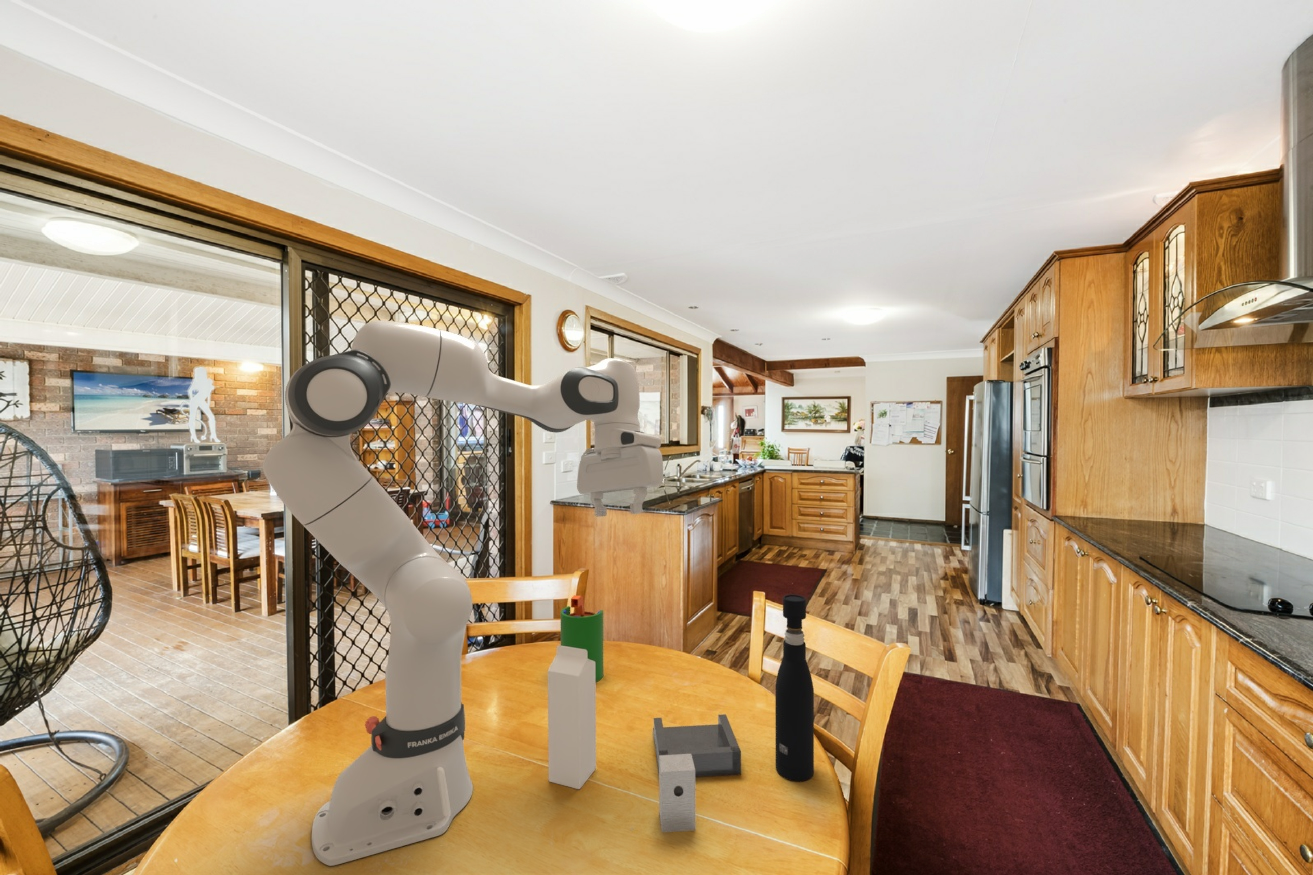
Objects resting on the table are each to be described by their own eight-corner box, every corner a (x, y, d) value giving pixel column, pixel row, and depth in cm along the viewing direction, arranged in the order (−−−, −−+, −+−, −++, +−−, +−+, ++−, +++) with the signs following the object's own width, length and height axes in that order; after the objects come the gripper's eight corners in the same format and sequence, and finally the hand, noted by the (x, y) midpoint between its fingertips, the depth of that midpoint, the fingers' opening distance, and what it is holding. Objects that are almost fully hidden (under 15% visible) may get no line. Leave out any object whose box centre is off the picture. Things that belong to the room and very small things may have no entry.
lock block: (659, 813, 83) (659, 755, 83) (691, 811, 83) (691, 753, 83) (661, 833, 79) (661, 772, 79) (695, 831, 79) (695, 770, 79)
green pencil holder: (606, 669, 133) (605, 588, 132) (598, 686, 124) (598, 600, 124) (565, 667, 134) (565, 587, 133) (555, 684, 125) (554, 599, 125)
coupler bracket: (652, 732, 105) (652, 712, 105) (723, 729, 106) (723, 709, 106) (659, 779, 91) (659, 756, 91) (740, 774, 92) (740, 751, 92)
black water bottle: (813, 761, 96) (813, 593, 95) (813, 785, 89) (814, 605, 89) (776, 756, 97) (776, 590, 97) (774, 778, 91) (774, 602, 91)
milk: (566, 761, 96) (565, 638, 96) (596, 769, 94) (596, 643, 94) (547, 782, 90) (546, 651, 90) (579, 790, 88) (578, 656, 88)
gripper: (569, 448, 108) (569, 517, 106) (644, 432, 95) (645, 511, 92) (593, 451, 113) (593, 518, 110) (667, 437, 100) (669, 512, 97)
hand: (617, 515), depth 101 cm, fingers open, 8 cm apart
